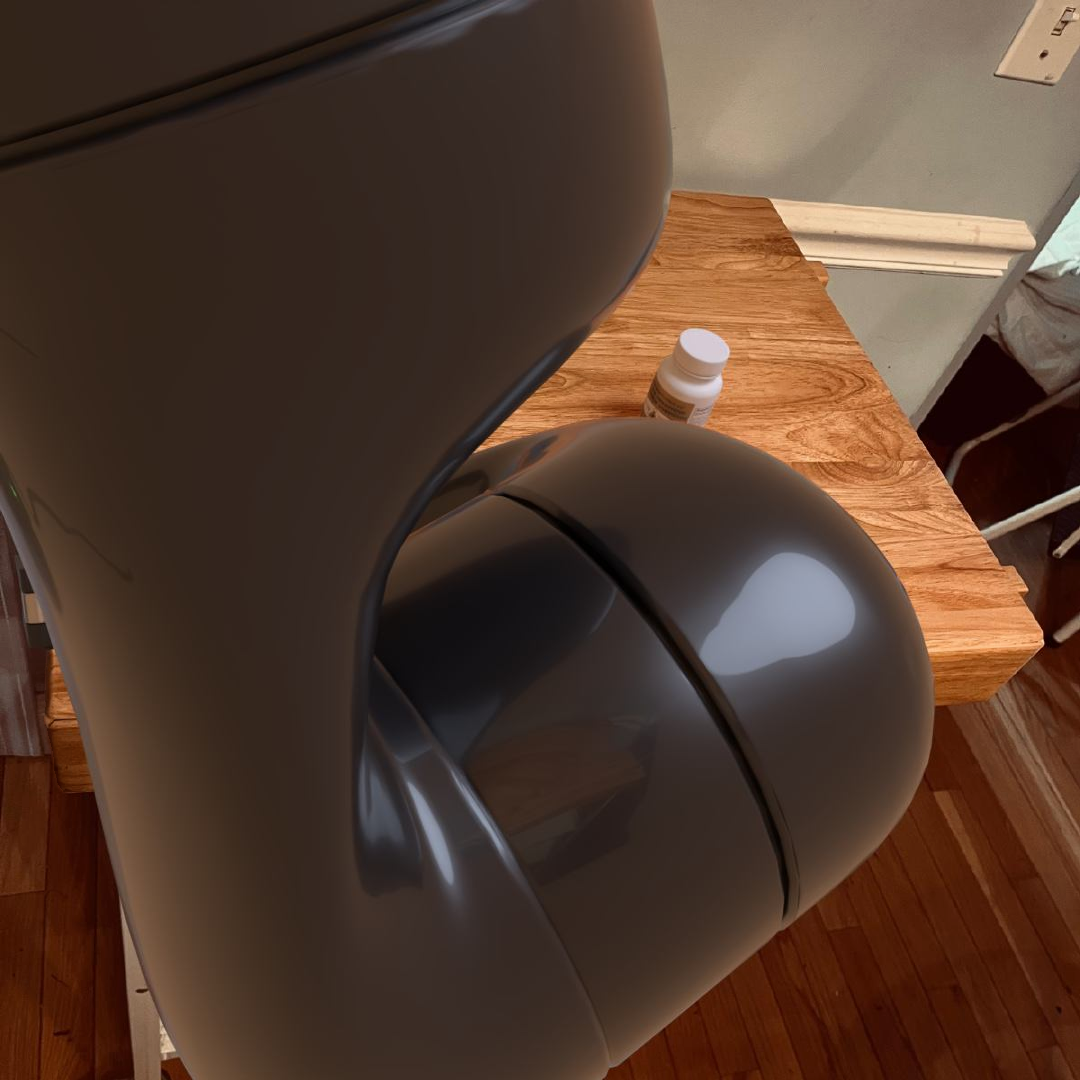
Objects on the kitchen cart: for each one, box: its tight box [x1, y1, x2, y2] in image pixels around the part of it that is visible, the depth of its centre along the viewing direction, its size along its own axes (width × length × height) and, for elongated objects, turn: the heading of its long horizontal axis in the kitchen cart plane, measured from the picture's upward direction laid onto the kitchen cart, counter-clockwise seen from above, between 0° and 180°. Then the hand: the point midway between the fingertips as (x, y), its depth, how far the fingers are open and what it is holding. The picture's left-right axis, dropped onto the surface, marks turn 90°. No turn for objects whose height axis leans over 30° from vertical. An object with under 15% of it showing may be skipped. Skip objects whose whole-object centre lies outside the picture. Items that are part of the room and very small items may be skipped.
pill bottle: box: [637, 327, 731, 428], centre depth 71 cm, size 4×4×8 cm
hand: (214, 552), depth 44 cm, fingers open, 8 cm apart
